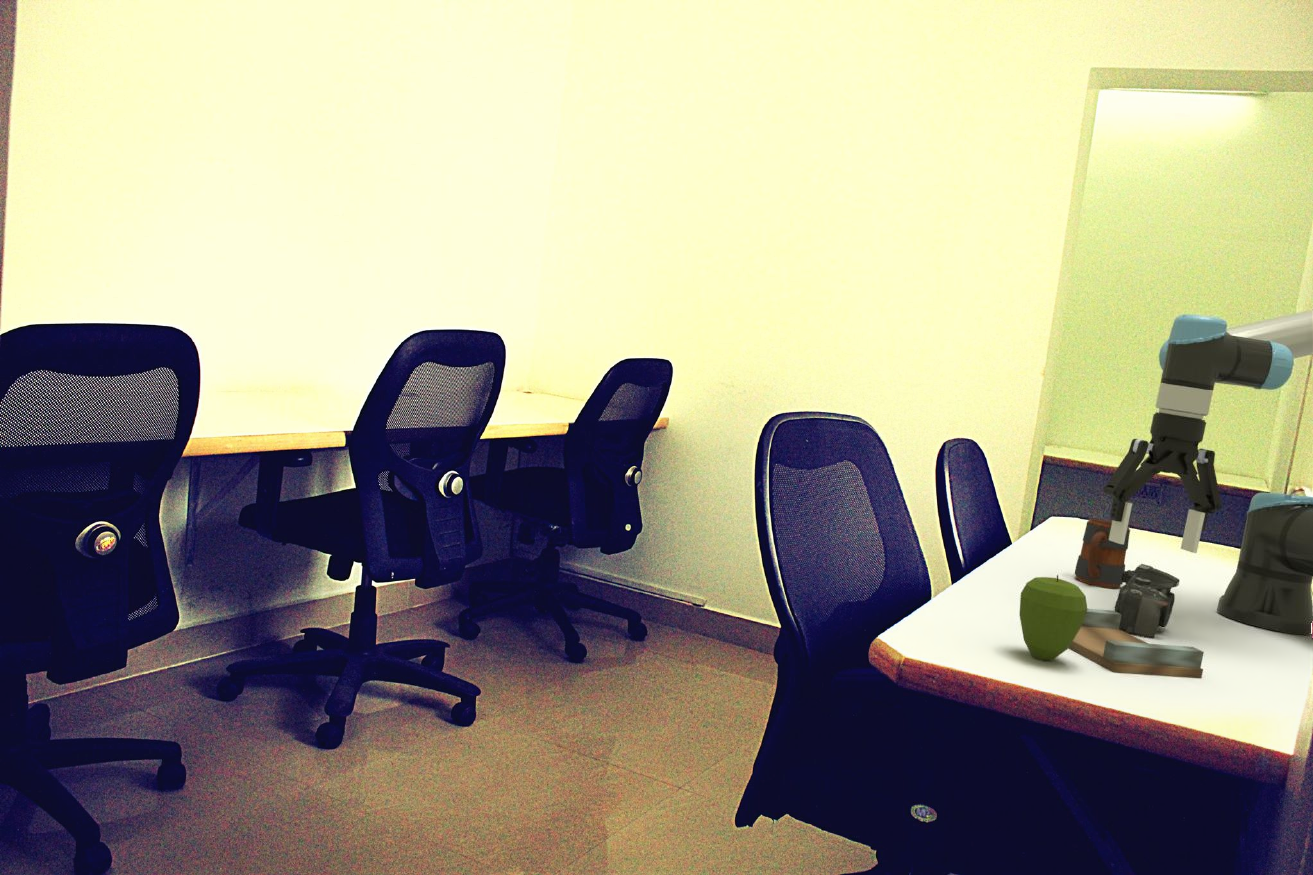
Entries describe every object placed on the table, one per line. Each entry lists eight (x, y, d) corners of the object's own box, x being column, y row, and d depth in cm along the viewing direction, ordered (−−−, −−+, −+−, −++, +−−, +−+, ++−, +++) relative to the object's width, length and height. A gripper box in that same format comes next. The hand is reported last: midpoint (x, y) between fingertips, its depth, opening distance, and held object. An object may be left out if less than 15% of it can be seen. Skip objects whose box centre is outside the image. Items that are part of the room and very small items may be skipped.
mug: (1062, 581, 199) (1073, 520, 198) (1081, 575, 209) (1092, 517, 207) (1109, 593, 194) (1121, 531, 193) (1127, 586, 203) (1138, 527, 202)
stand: (1106, 631, 163) (1110, 609, 162) (1201, 677, 144) (1206, 652, 143) (1027, 625, 159) (1031, 602, 159) (1113, 671, 140) (1118, 646, 140)
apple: (1077, 674, 136) (1094, 587, 135) (1009, 658, 139) (1025, 573, 138) (1075, 657, 145) (1090, 575, 143) (1011, 643, 147) (1026, 562, 146)
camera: (1182, 645, 162) (1195, 581, 161) (1114, 632, 163) (1126, 569, 162) (1160, 623, 175) (1171, 564, 174) (1096, 612, 176) (1108, 553, 175)
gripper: (1228, 421, 172) (1200, 548, 174) (1096, 401, 166) (1070, 533, 168) (1264, 427, 165) (1235, 560, 167) (1128, 406, 159) (1100, 544, 161)
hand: (1152, 546), depth 167 cm, fingers open, 13 cm apart
